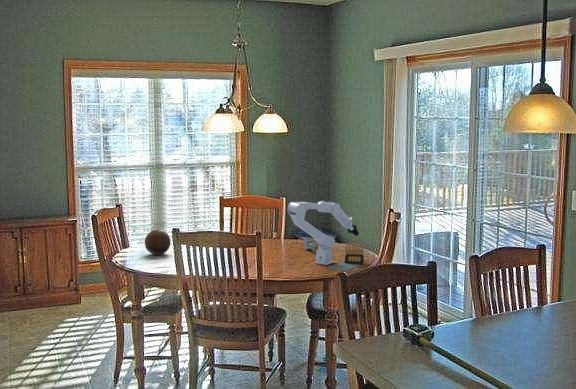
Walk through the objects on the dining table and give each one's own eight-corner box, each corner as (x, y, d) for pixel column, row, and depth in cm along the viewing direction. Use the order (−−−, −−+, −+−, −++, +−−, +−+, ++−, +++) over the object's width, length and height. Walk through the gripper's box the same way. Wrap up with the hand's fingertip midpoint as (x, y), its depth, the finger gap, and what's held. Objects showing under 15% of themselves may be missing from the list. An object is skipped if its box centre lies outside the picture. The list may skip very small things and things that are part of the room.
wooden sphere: (175, 254, 395) (175, 229, 393) (158, 258, 383) (157, 232, 381) (157, 251, 403) (157, 226, 402) (139, 255, 391) (139, 230, 389)
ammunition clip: (363, 263, 375) (363, 242, 374) (363, 263, 373) (364, 242, 372) (344, 262, 374) (345, 241, 373) (344, 263, 372) (345, 242, 371)
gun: (309, 263, 413) (306, 239, 417) (323, 255, 391) (320, 231, 394) (304, 263, 412) (302, 239, 416) (318, 256, 390) (315, 231, 393)
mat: (345, 271, 354) (345, 270, 354) (326, 268, 361) (326, 267, 361) (360, 265, 368) (360, 265, 368) (342, 263, 375) (342, 262, 375)
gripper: (351, 218, 372) (365, 232, 379) (342, 207, 385) (355, 221, 392) (342, 226, 373) (356, 241, 380) (333, 215, 385) (346, 229, 392)
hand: (355, 231), depth 386 cm, fingers open, 7 cm apart
